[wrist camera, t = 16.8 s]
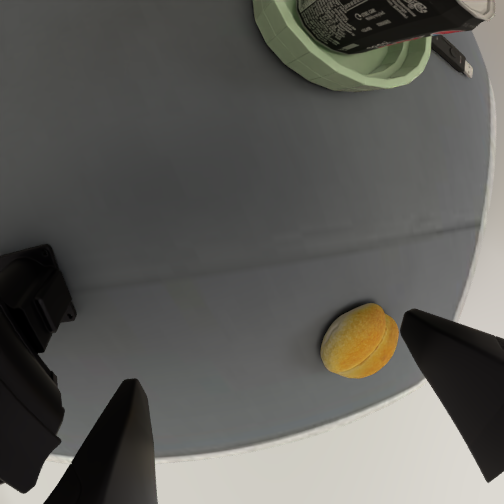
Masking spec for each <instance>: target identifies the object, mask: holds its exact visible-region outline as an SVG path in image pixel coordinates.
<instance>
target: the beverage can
mask: <svg viewBox="0 0 504 504" xmlns="http://www.w3.org/2000/svg"><path fill="white" fill-rule="evenodd" d="M296 12H297V14H298V17H299V19H300V21H301V23H302V26H303V27H304V28H305V29H306V31H307V32H308V33H309V34H310V35H311V36H312V37H313V38H314V40H315V41H317V42H319V43H320V44H322V45H324V46H325V47H327V48H328V49H330V50H331V51H335V52H339V53H343V54H346V55H351V54H359V53H364V52H368V51H371V50H375V49H378V48H382V47H385V46H389V45H393V44H397V43H401V42H405V41H410V40H414V39H419V38H424V37H429V36H435V35H441V34H447V33H454V32H461V31H469V30H473V29H474V28H475V27H476V26H478V25H479V24H480V23H481V22H483V21H489V20H490V19H492V18H493V17H494V16H495V1H494V0H296Z"/></svg>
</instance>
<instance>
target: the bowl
mask: <svg viewBox="0 0 504 504" xmlns="http://www.w3.org/2000/svg"><path fill="white" fill-rule="evenodd" d="M253 8H254V17H255V22H256V24H257V26H258V28H259V30H260V32H261V34H262V36H263V38H264V40H265V42H266V44H267V45H268V46H269V47H270V48H271V49H272V51H273V52H274V53H275V54H276V55H277V56H278V57H279V58H280V60H281V61H282V62H283V63H284V64H285V65H287V66H288V67H289V68H291V69H292V70H294V71H295V72H297V73H298V74H300V75H301V76H303V77H304V78H305V79H307V80H308V81H310V82H312V83H315V84H318V85H320V86H323V87H326V88H328V89H331V90H335V91H347V92H362V91H370V90H379V89H390V88H394V87H398V86H402V85H406V84H409V83H410V82H411V81H412V80H414V79H415V78H416V77H417V76H418V75H420V74H421V73H422V72H423V70H424V68H425V66H426V64H427V61H428V59H429V57H430V52H431V39H432V36H429V37H424V38H419V39H414V40H410V41H405V42H401V43H397V44H393V45H389V46H385V47H382V48H378V49H375V50H371V51H368V52H364V53H359V54H351V55H346V54H343V53H339V52H335V51H331V50H330V49H328V48H327V47H325V46H324V45H322V44H320V43H319V42H317V41H315V40H314V38H313V37H312V36H311V35H310V34H309V33H308V32H307V31H306V29H305V28H304V27H303V26H302V23H301V21H300V19H299V17H298V14H297V12H296V0H253Z"/></svg>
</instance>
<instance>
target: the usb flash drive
mask: <svg viewBox="0 0 504 504" xmlns="http://www.w3.org/2000/svg"><path fill="white" fill-rule="evenodd" d="M431 48H433V49H434V50H435V51H436V52H437V53H439V54H440V55H441V56H442V57H443V58H444V59H446V60H447V61H448V62H449V63H450V64H451V65H452V66H453V67H454V68H455V69H456V70H458V71H459V72H464V73H465V74H466V75H467V76H468V77H469V78H472V70H473V68H472V67H471V66H470V65H469V64H468V63H467V62H466V61H465V60H466V58H465V56H464V55H463V54H462V53H461V52H460V51H458V50H457V49H456V48H455V47H454V46H453V45H452V44H451V43H450V42H449V41H448V40H447V39H446V38H445V37H443V36H442V35H435V36H432V39H431Z"/></svg>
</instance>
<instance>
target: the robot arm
mask: <svg viewBox="0 0 504 504" xmlns="http://www.w3.org/2000/svg"><path fill="white" fill-rule="evenodd" d="M44 250H47V252H48V254H46V253H45V252H44ZM71 300H72V298H71V296H70V293H69V291H68V288H67V286H66V283H65V281H64V278H63V275H62V273H61V271H60V270H59V268H58V266H57V263H56V260H55V257H54V254H53V251H52V248H51V247H50V246H49V245H47V244H44V245H40V246H36V247H32V248H29V249H25V250H21V251H17V252H14V253H10V254H6V255H3V256H0V484H3V483H6V484H8V485H9V486H11V487H13V488H14V489H16V490H17V491H19V492H20V493H23V494H24V493H27V492H28V491H29V490H30V489H32V488H33V487H34V486H35V485H36V482H37V479H38V476H39V473H40V471H41V468H42V466H43V464H44V462H45V460H46V459H47V457H48V456H49V454H50V453H51V452H52V451H53V450H54V449H55V448H56V447H57V446H58V445H59V444H60V443H61V439H60V438H59V437H57V436H56V435H57V433H58V431H59V429H60V426H61V424H62V422H63V417H64V412H65V409H64V408H63V407H62V401H61V393H60V391H59V389H58V386H57V376H56V375H55V374H54V373H53V372H52V371H50V370H49V368H48V367H47V366H46V365H45V363H44V362H43V361H42V359H41V358H40V357H39V355H38V353H43V352H45V349H46V347H47V345H48V342H49V340H50V338H51V336H52V334H53V333H56V331H57V329H58V327H59V325H60V323H61V322H69V321H74V320H75V318H76V315H77V314H76V311H75V309H74V306H73V304H72V302H71ZM69 313H70V314H72V316H71V315H69ZM400 333H401V336H402V338H403V340H404V341H405V343H406V345H407V347H408V349H409V350H410V352H411V354H412V356H413V358H414V360H415V362H416V363H417V365H418V367H419V368H420V370H421V372H422V373H423V375H424V376H425V378H426V379H427V381H428V382H429V384H430V385H431V387H432V388H433V390H434V391H435V393H436V395H437V396H438V397H439V399H440V401H441V402H442V404H443V406H444V407H445V409H446V410H447V412H448V414H449V415H450V417H451V418H452V420H453V422H454V424H455V425H456V427H457V428H458V430H459V432H460V434H461V435H462V437H463V439H464V441H465V442H466V444H467V446H468V448H469V450H470V451H471V453H472V455H473V457H474V459H475V460H476V462H477V464H478V466H479V468H480V470H481V472H482V474H483V476H484V478H485V480H486V481H487V482H488V483H489V482H490V481H492V480H493V479H494V478H496V477H497V476H498V475H499V474H501V473H502V472H503V471H504V339H503V338H500V337H497V336H496V337H495V336H494V335H491V334H488V333H485V332H482V331H479V330H476V329H473V328H470V327H468V326H465V325H462V324H459V323H456V322H453V321H450V320H447V319H444V318H441V317H439V316H436V315H433V314H430V313H427V312H424V311H421V310H418V309H411V310H409V311H407V312H405V314H404V317H403V321H402V325H401V328H400ZM43 504H158V502H157V490H156V477H155V458H154V442H153V435H152V428H151V421H150V413H149V405H148V398H147V395H146V393H145V392H144V390H143V388H142V386H141V384H140V382H139V381H138V379H135V378H134V379H125V380H124V381H123V382H122V383H121V385H120V386H119V388H118V389H117V391H116V393H115V394H114V396H113V397H112V399H111V400H110V402H109V403H108V405H107V406H106V408H105V409H104V411H103V413H102V414H101V416H100V417H99V419H98V420H97V422H96V423H95V425H94V427H93V428H92V430H91V431H90V433H89V435H88V436H87V438H86V439H85V441H84V443H83V444H82V446H81V447H80V449H79V451H78V452H77V454H76V455H75V457H74V459H73V460H72V464H70V465H69V467H68V468H67V470H66V472H65V474H64V475H63V477H62V478H61V480H60V481H59V483H58V484H57V486H56V487H55V489H54V490H53V491H52V493H51V494H50V496H49V497H48V498H47V500H46V501H45V502H44V503H43Z"/></svg>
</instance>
